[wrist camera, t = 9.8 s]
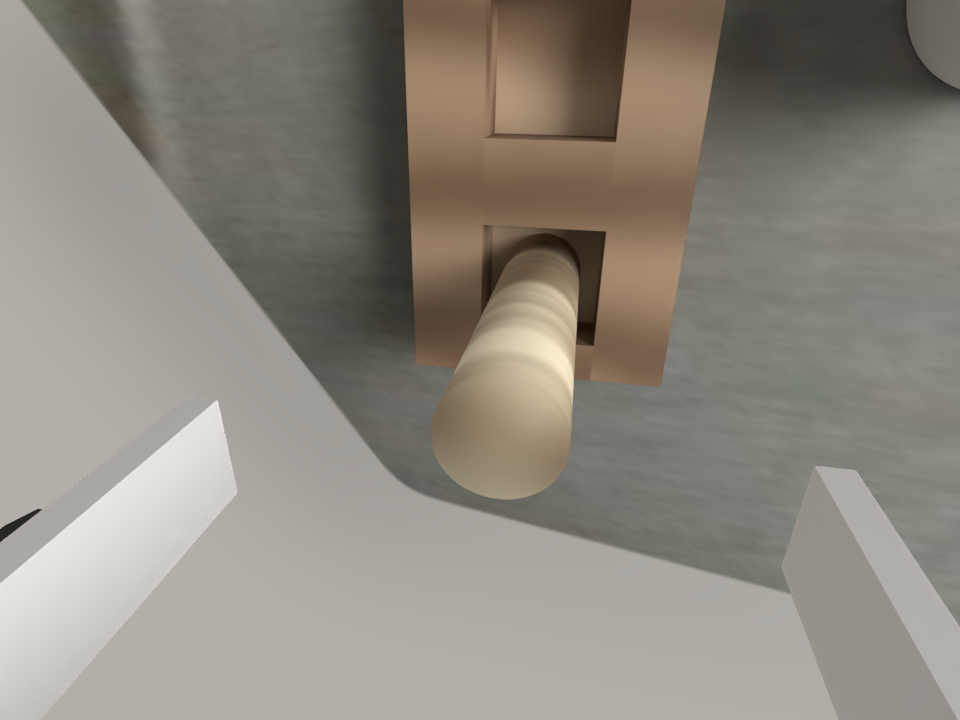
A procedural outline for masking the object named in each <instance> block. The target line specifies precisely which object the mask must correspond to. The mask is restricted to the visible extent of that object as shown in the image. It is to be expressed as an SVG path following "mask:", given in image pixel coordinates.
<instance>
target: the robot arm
mask: <svg viewBox="0 0 960 720" xmlns="http://www.w3.org/2000/svg"><path fill="white" fill-rule="evenodd" d="M236 494H237V487H236V483H235V478H234V474H233V469H232V464H231V460H230V455H229V450H228V446H227V441H226V437H225V432H224V427H223V423H222V418H221V413H220V409H219V404H218V400H217V399H208V398H199V397H190V396H188V397H187V398H185V399H184V400H183V401H182V402H180V403H179V404H178V405H176V406H175V407H174V408H172V409H171V410H170V411H169V412H167V413H166V414H165V415H163V416H162V417H161V418H160V419H158V420H157V421H156V422H154V423H153V424H152V425H151V426H149V427H148V428H147V429H145V430H144V431H143V432H142V433H140V434H139V435H138V436H136V437H135V438H134V439H132V440H131V441H130V442H129V443H127V444H126V445H125V446H124V447H122V448H121V449H120V450H118V451H117V452H116V453H114V454H113V455H112V456H111V457H109V458H108V459H107V460H106V461H104V462H103V463H102V464H100V465H99V466H98V467H97V468H95V469H94V470H93V471H91V472H90V473H89V474H87V475H86V476H85V477H84V478H82V479H81V480H80V481H78V482H77V483H76V484H75V485H73V486H72V487H71V488H69V489H68V490H67V491H66V492H64V493H63V494H62V495H60V496H59V497H58V498H57V499H55V500H54V501H53V502H51V503H50V504H49V505H48V506H46V507H45V508H44V509H37V510H35V511H33V512H31V513H29V514H27V515H25V516H23V517H21V518H19V519H17V520H15V521H13V522H11V523H9V524H7V525H5V526H4V527H2V528H1V529H0V720H41V719H42V717H43V716H44V715H45V714H46V713H47V712H48V710H49V709H50V708H51V707H52V706H53V705H54V704H55V702H56V701H57V700H58V699H59V698H60V697H61V696H62V694H63V693H64V692H65V691H66V690H67V689H68V687H69V686H70V685H71V684H72V683H73V682H74V680H75V679H76V678H77V677H78V676H79V675H80V674H81V672H82V671H83V670H84V669H85V668H86V667H87V665H88V664H89V663H90V662H91V661H92V660H93V659H94V657H95V656H96V655H97V654H98V653H99V652H100V651H101V649H102V648H103V647H104V646H105V645H106V644H107V642H108V641H109V640H110V639H111V638H112V637H113V636H114V634H115V633H116V632H117V631H118V630H119V629H120V628H121V626H122V625H123V624H124V623H125V622H126V620H127V619H128V618H129V617H130V616H131V615H132V614H133V612H134V611H135V610H136V609H137V608H138V607H139V606H140V604H141V603H142V602H143V601H144V599H146V598H147V596H148V595H149V594H150V593H151V592H152V591H153V589H154V588H155V587H156V586H157V585H158V584H159V582H160V581H161V580H162V579H163V578H164V577H165V575H166V574H167V573H168V572H169V571H170V570H171V569H172V567H173V566H174V565H175V564H176V563H177V562H178V561H179V559H180V558H181V557H182V556H183V555H184V554H185V553H186V551H187V550H188V549H189V548H190V547H191V545H192V544H193V543H194V542H195V541H196V540H197V538H199V536H200V535H201V534H202V533H203V532H204V531H205V529H206V528H207V527H208V526H209V525H210V524H211V522H212V521H213V520H214V519H215V518H216V517H217V516H218V514H219V513H220V512H221V511H222V510H223V509H224V508H225V506H226V505H227V504H228V503H229V502H230V501H231V499H232V498H233V497H234V496H235V495H236ZM781 568H782V571H783V574H784V576H785V579H786V582H787V584H788V587H789V589H790V592H791V595H792V597H793V600H794V602H795V605H796V608H797V611H798V613H799V616H800V619H801V621H802V624H803V626H804V629H805V632H806V634H807V637H808V640H809V642H810V645H811V647H812V650H813V653H814V655H815V658H816V661H817V664H818V666H819V669H820V671H821V674H822V677H823V679H824V682H825V685H826V687H827V690H828V692H829V695H830V698H831V701H832V703H833V706H834V709H835V711H836V714H837V716H838V719H839V720H960V627H959V625H958V624H957V622H956V621H955V619H954V618H953V616H952V614H951V613H950V611H949V610H948V608H947V607H946V605H945V604H944V602H943V601H942V599H941V598H940V596H939V595H938V593H937V592H936V590H935V589H934V587H933V586H932V584H931V583H930V581H929V580H928V578H927V577H926V575H925V574H924V572H923V571H922V569H921V568H920V566H919V565H918V563H917V562H916V560H915V559H914V557H913V556H912V554H911V553H910V551H909V550H908V548H907V547H906V545H905V544H904V542H903V541H902V539H901V538H900V536H899V535H898V533H897V532H896V530H895V528H894V527H893V525H892V524H891V522H890V521H889V519H888V518H887V516H886V515H885V513H884V512H883V510H882V509H881V507H880V506H879V504H878V503H877V501H876V500H875V498H874V497H873V495H872V494H871V492H870V491H869V489H868V488H867V486H866V485H865V483H864V482H863V480H862V479H861V477H860V476H859V474H858V473H857V471H856V470H849V469H840V468H831V467H822V466H814V469H813V472H812V475H811V478H810V481H809V484H808V487H807V490H806V493H805V496H804V499H803V502H802V505H801V508H800V511H799V514H798V517H797V520H796V523H795V526H794V529H793V532H792V535H791V538H790V542H789V545H788V548H787V551H786V554H785V557H784V560H783V563H782V566H781Z"/></svg>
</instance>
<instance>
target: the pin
mask: <svg viewBox="0 0 960 720" xmlns="http://www.w3.org/2000/svg"><path fill="white" fill-rule="evenodd" d="M579 279H580V262H579V258H578V255H577V253H576V251H575V249H574V248H573V247H572V245H571V244H570V243H569V242H567V241H566V240H565V239H563V238H561V237H559V236H557V235H554V234H549V233H540V234H534V235H531V236H529V237H527V238H525V239H523V240H522V241H521V242H520V243H519V244H518V245H517V246H516V247H515V248H514V250H513V252H512V253H511V256H510V258H509V260H508V262H507V264H506V266H505V268H504V270H503V272H502V274H501V276H500V278H499V281H498V283H497V285H496V287H495V289H494V291H493V293H492V295H491V297H490V299H489V301H488V303H487V306H486V308H485V310H484V312H483V314H482V316H481V318H480V320H479V322H478V324H477V326H476V328H475V330H474V333H473V335H472V337H471V339H470V341H469V343H468V345H467V347H466V349H465V351H464V353H463V355H462V358H461V360H460V362H459V364H458V366H457V368H456V370H455V372H454V374H453V376H452V378H451V380H450V383H449V385H448V387H447V389H446V391H445V393H444V395H443V397H442V399H441V401H440V403H439V405H438V408H437V410H436V412H435V414H434V417H433V419H432V424H431V433H430V436H431V444H432V448H433V451H434V454H435V456H436V458H437V460H438V462H439V464H440V465H441V467H442V468H443V469H444V471H445V472H446V473H447V474H448V475H449V476H450V477H451V478H452V479H453V480H454V481H455V482H457V483H458V484H460V485H461V486H463V487H464V488H466V489H468V490H470V491H472V492H474V493H476V494H479V495H482V496H485V497H489V498H495V499H518V498H524V497H528V496H531V495H534V494H536V493H539V492H540V491H542V490H544V489H546V488H547V487H548V486H550V485H551V484H552V483H553V482H554V481H555V480H556V479H557V478H558V477H559V476H560V474H561V473H562V472H563V470H564V468H565V466H566V464H567V461H568V458H569V452H570V440H571V422H572V404H573V386H574V368H575V350H576V332H577V314H578V297H579Z"/></svg>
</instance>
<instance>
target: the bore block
mask: <svg viewBox="0 0 960 720" xmlns="http://www.w3.org/2000/svg"><path fill="white" fill-rule="evenodd" d="M725 4H726V0H403V17H404V45H405V73H406V101H407V129H408V157H409V185H410V214H411V242H412V270H413V298H414V326H415V354H416V364H420V365H431V366H442V367H452V368H457V366H458V364H459V362H460V360H461V358H462V355H463V353H464V351H465V349H466V347H467V345H468V343H469V341H470V339H471V337H472V335H473V333H474V330H475V328H476V326H477V324H478V322H479V320H480V318H481V316H482V314H483V312H484V310H485V308H486V306H487V303H488V301H489V299H490V297H491V295H492V293H493V291H494V289H495V287H496V285H497V283H498V281H499V278H500V276H501V274H502V272H503V270H504V268H505V266H506V264H507V262H508V260H509V258H510V256H511V253H512V252H513V250H514V248H515V247H516V246H517V245H518V244H519V243H520V242H521V241H522V240H523V239H525V238H527V237H529V236H531V235H534V234H540V233H549V234H554V235H557V236H559V237H561V238H563V239H565V240H566V241H567V242H569V243H570V244H571V245H572V247H573V248H574V249H575V251H576V253H577V255H578V258H579V262H580V279H579V297H578V314H577V332H576V350H575V368H574V379H582V380H593V381H604V382H614V383H625V384H636V385H647V386H658V387H661V381H662V375H663V369H664V363H665V357H666V351H667V345H668V340H669V334H670V328H671V322H672V316H673V310H674V304H675V298H676V293H677V287H678V281H679V275H680V269H681V263H682V257H683V251H684V245H685V240H686V234H687V228H688V222H689V216H690V210H691V204H692V198H693V192H694V187H695V181H696V175H697V169H698V163H699V157H700V151H701V145H702V139H703V134H704V128H705V122H706V116H707V110H708V104H709V98H710V92H711V86H712V81H713V75H714V69H715V63H716V57H717V51H718V45H719V39H720V33H721V28H722V22H723V16H724V10H725Z"/></svg>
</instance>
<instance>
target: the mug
mask: <svg viewBox="0 0 960 720" xmlns="http://www.w3.org/2000/svg"><path fill="white" fill-rule="evenodd" d="M906 18H907V27H908V32H909V35H910V39H911V42H912V45H913V47H914V49H915V51H916V53H917V55H918V57H919V58H920V60H921V61H922V62H923V64H924V65H925V66H926V67H927V68H928V69H929V70H930V71H931V72H932V73H933V74H934V75H935V76H937V77H938V78H939V79H941V80H942V81H944V82H945V83H947V84H949V85H951V86H953V87H955V88H957V89H960V0H906Z"/></svg>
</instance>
